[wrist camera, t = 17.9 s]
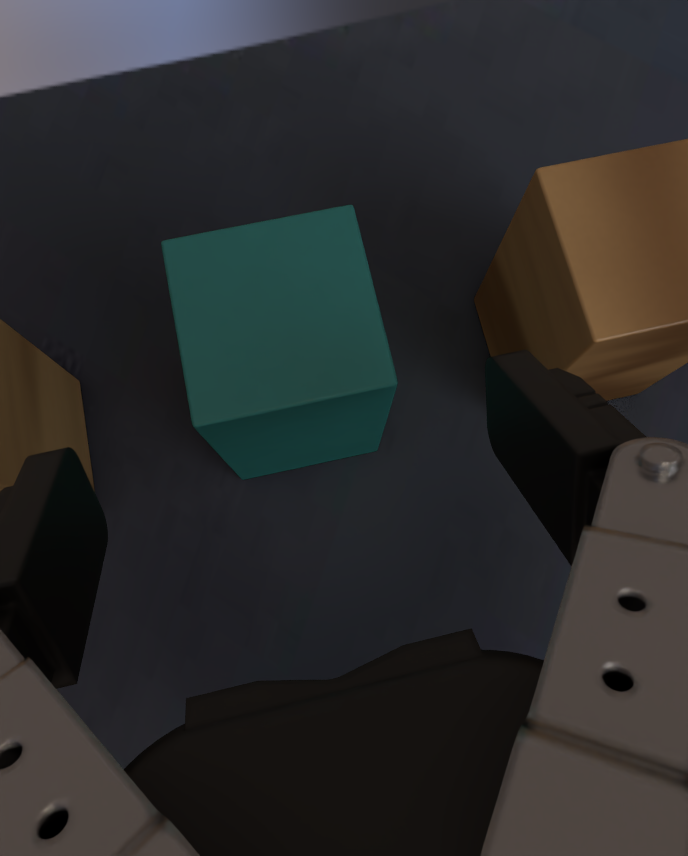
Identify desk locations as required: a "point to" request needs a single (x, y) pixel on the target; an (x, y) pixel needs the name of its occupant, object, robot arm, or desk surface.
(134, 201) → the desk surface
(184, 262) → the teal block
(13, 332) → the block left
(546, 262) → the block right
